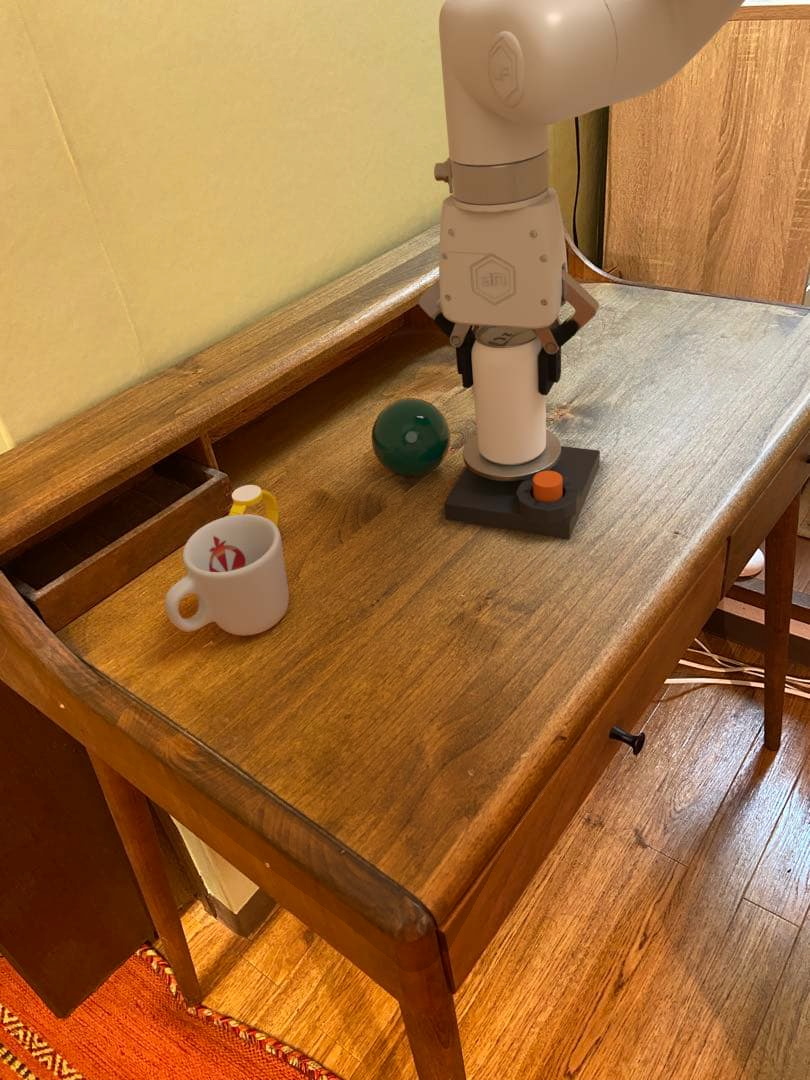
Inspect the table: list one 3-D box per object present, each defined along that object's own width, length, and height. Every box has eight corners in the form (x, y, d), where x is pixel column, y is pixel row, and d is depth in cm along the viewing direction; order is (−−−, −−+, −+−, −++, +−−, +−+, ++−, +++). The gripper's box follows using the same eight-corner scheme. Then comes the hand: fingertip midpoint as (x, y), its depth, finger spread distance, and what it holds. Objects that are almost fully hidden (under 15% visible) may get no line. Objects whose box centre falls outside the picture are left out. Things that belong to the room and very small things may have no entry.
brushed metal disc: (571, 433, 81) (571, 428, 81) (546, 487, 74) (546, 482, 74) (481, 423, 84) (481, 418, 84) (449, 474, 78) (448, 469, 78)
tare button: (565, 488, 75) (565, 472, 74) (558, 504, 73) (558, 488, 72) (537, 484, 76) (537, 468, 75) (529, 500, 74) (529, 484, 73)
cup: (209, 682, 65) (180, 609, 60) (163, 634, 70) (132, 563, 65) (317, 611, 70) (298, 538, 65) (266, 571, 75) (245, 501, 70)
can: (559, 441, 79) (558, 324, 72) (521, 474, 75) (516, 354, 68) (503, 425, 83) (497, 311, 75) (465, 455, 79) (454, 339, 72)
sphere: (363, 469, 87) (351, 403, 82) (425, 441, 90) (417, 375, 85) (403, 503, 81) (393, 434, 76) (469, 472, 84) (463, 403, 79)
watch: (253, 566, 76) (237, 515, 73) (229, 559, 77) (213, 509, 74) (289, 528, 80) (276, 478, 76) (267, 523, 81) (252, 473, 78)
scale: (602, 466, 82) (603, 436, 80) (570, 544, 73) (570, 513, 71) (485, 452, 87) (483, 423, 84) (442, 524, 78) (438, 494, 76)
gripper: (379, 193, 64) (406, 396, 75) (600, 192, 58) (595, 414, 69) (415, 165, 70) (435, 358, 81) (622, 162, 63) (614, 372, 74)
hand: (509, 382), depth 75 cm, fingers closed on can, 6 cm apart
